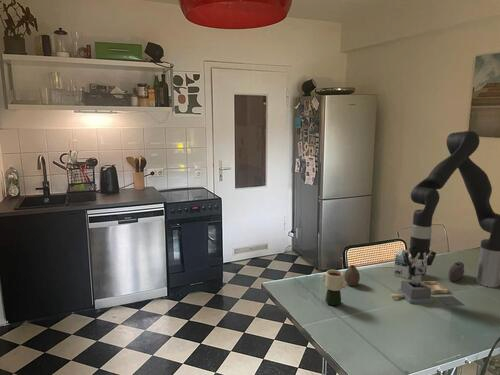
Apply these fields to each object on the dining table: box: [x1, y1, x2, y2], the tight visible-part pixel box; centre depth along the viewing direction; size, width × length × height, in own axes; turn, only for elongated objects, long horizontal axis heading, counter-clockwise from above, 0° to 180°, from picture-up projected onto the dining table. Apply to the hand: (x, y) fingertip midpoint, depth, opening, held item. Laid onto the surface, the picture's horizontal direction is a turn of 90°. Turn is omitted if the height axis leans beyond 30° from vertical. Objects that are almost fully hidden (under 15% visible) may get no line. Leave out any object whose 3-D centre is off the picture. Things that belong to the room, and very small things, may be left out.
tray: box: [422, 280, 450, 294], centre depth 165 cm, size 9×9×2 cm
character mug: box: [322, 269, 348, 306], centre depth 150 cm, size 11×7×13 cm, turn 45°
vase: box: [344, 264, 361, 287], centre depth 168 cm, size 7×7×9 cm
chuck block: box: [391, 280, 434, 304], centre depth 156 cm, size 15×10×6 cm, turn 95°
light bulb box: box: [393, 248, 411, 280], centre depth 181 cm, size 11×7×11 cm, turn 143°
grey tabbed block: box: [411, 262, 427, 287], centre depth 155 cm, size 4×7×11 cm, turn 5°
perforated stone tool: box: [447, 261, 465, 283], centre depth 176 cm, size 15×5×7 cm, turn 134°
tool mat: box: [435, 295, 465, 307], centre depth 154 cm, size 8×8×1 cm
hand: (416, 274), depth 155 cm, fingers closed on grey tabbed block, 4 cm apart
